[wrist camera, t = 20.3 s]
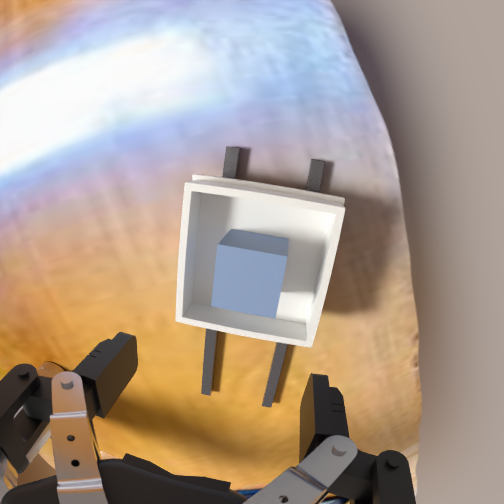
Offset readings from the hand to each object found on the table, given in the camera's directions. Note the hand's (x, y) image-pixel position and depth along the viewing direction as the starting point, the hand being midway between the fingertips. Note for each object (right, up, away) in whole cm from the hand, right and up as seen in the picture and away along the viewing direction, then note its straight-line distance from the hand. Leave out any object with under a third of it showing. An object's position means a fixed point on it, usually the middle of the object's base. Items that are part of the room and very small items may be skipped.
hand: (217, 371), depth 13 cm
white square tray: (+2, +6, +17) cm, 18 cm away
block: (+2, +4, +14) cm, 15 cm away
